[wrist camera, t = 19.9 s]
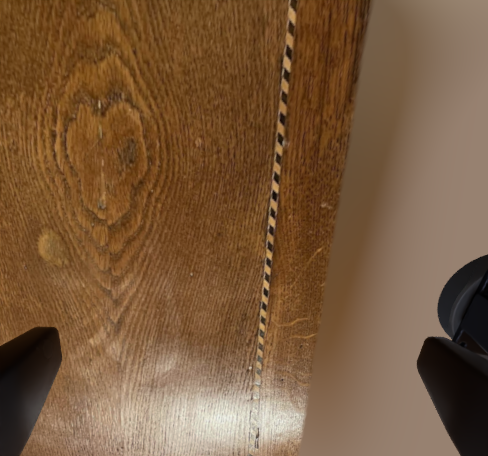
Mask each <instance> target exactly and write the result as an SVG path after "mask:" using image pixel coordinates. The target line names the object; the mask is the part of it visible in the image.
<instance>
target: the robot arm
mask: <svg viewBox="0 0 488 456" xmlns="http://www.w3.org/2000/svg"><path fill="white" fill-rule="evenodd" d="M459 343H460V344H459ZM478 354H480V355H485V356H488V269H487V271H486V272H485V274H484V276H483V278H482V280H481V282H480V284H479V286H478V288H477V290H476V292H475V294H474V296H473V298H472V300H471V302H470V304H469V306H468V308H467V310H466V313H465V315H464V317H463V319H462V321H461V323H460V325H459V327H458V329H457V331H456V333H455V335H454V337H453V339H452V341H451V340H449V339H447V338H444V337H428V338H427V339H426V340H425V341H424V344H423V346H422V349H421V352H420V355H419V357H418V360H417V369H418V372H419V374H420V376H421V378H422V380H423V383H424V384H425V387H426V389H427V391H428V393H429V395H430V397H431V399H432V401H433V403H434V405H435V408H436V410H437V412H438V414H439V416H440V418H441V420H442V422H443V424H444V426H445V428H446V430H447V432H448V434H449V436H450V438H451V440H452V441H453V443H454V445H455V447H456V448H457V450H458V452H459V454H460V455H461V456H488V360H487V359H485V358H483V357H481V356H480V355H478ZM61 361H62V353H61V346H60V339H59V333H58V330H57V329H56V328H55V327H35V328H33V329H31V330H29V331H27V332H25V333H24V334H22V335H20V336H18V337H16V338H14V339H12V340H11V341H9V342H7V343H5V344H3V345H1V346H0V456H20V454H21V452H22V450H23V448H24V446H25V445H26V443H27V441H28V439H29V437H30V435H31V432H32V430H33V428H34V426H35V424H36V421H37V419H38V417H39V414H40V412H41V410H42V407H43V405H44V403H45V400H46V398H47V396H48V393H49V391H50V389H51V386H52V384H53V382H54V379H55V377H56V375H57V372H58V370H59V368H60V365H61Z"/></svg>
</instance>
